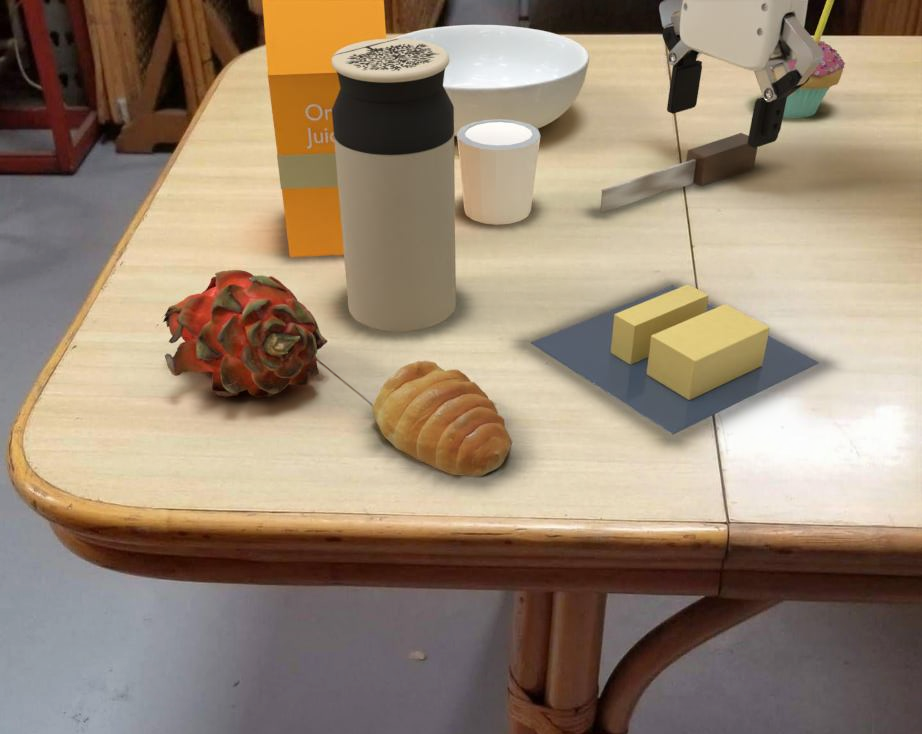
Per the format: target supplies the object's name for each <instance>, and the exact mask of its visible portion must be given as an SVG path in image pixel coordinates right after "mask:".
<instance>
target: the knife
mask: <svg viewBox="0 0 922 734" xmlns="http://www.w3.org/2000/svg"><path fill="white" fill-rule="evenodd" d="M748 137H749V134H745V133H743V132H739V133H736V134H733V135H729V136H726V137H723V138H721V139H718V140H715V141H712V142H708V143H705V144H702V145H699V146H696V147H693V148H690V149H688V150H687V151H686V157H685V161H684V162H680V163H678V164H674V165H672V166H668V167H666V168H663V169H659V170H657V171H653V172H650V173H648V174H645V175H642V176H639V177H635V178H633V179H630V180H626V181H624V182H621V183H618V184H615V185H612V186H608V187H606V188H603V189H601V195H600V207H599V212H600V213H602V214H603V213H606V212H610V211H612V210H615V209H618V208H621V207H624V206H626V205H630V204H633V203H635V202H638V201H642V200H644V199H647V198H651V197H653V196H655V195H659V194H661V193H664V192H667V191H671V190H678V189H681V188H684V187H687V186H689V185H693V184H694V185H696V186H698V187H705V186H707V185H710V184H713V183H716V182H719V181H721V180H724V179H726V178H730V177H732V176H735V175H738V174H742V173H744V172H747V171H749V170H753V169H755V166H756V165H755V164H756V159H757V154H758V153H757V152H758V148H759V147H756V148H753V147H751V146H749V145H748Z"/></svg>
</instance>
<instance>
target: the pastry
mask: <svg viewBox="0 0 922 734" xmlns="http://www.w3.org/2000/svg"><path fill="white" fill-rule="evenodd" d="M372 414H373V416H374V420H375V421H376V424H377V425H378V429H379V430H380V431H381V434H382V435H383V437H384V439H385V440H387V441H388V442H389V443H391V444H392V445H393V447H394V448H395V449H397V450H399V451H401V452H403V453H405V454H407V455H409V456H410V457H412V458H413V459H415V460H417V461H420V462H422V463H424V464H426V465H428V466H431V467H433V468H435V469H437V470H440V471H441V472H444V473H447V474H449V475H450V476H451V475H452V476H459V477H460V476H466V477H473V478H479V477H480V478H481V477H483V476H485V475H487V474H488V473H490V472H493V471H494V470H495V471H496V470H497V469H499V468H500V467H501V466H502V465H503V464H504V462H505V460H506V457H507V456H508V454H509V452H510V449H511V446H512V443H513V440H512V438H511V436H510V434H509V433H508V431H507V429H506V423H505V418H503V417H502V416H501V415H499V413H498V410H497V407H496V405H495V403H494V401H493V400H492V399H489V396H488V395H487V393H486V392H485V391H483V390H482V389H481V387H480V386H479V385H478V384H477V383H476V382H475V381H471V379H470V378H469V377H468V375H466V374H465V373H463V372H462V371H461V370H459V369H447V370H445V369H443V368H441V367H440V366H439V365H438V364H437V363H436V362H434V361H429V360H422V361H421V360H418V361H415V362H412V363H409V364H406V365H404V366H402V367H400V369H398V370H397V371H396V373H395V374H394V375H393V376H391V377H389V378H388V379H387V380H386V381H385V382H384V383H383V385H382V387H380V389H379V392H378V395H377V396H376V398H375V400H374V403H373V404H372Z"/></svg>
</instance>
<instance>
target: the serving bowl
mask: <svg viewBox="0 0 922 734" xmlns="http://www.w3.org/2000/svg"><path fill="white" fill-rule="evenodd" d="M393 39H411V40H419V41H424V42H428V43H432V44H435V45H437V46H439V47H441V48H443V49H444V50H445V51H446V52H447V53H448V55H449V64H448V66H447V67H446V68H445V72H444V81H443V86H444V88H445V90H446V92H447V94H448V96H449V98H450V100H451V102H452V104H453V106H454V137H457V133H458V131H459V130H460V129H461V128H462V127H464V126H466V125H468V124H470V123H474V122H478V121H483V120H497V119H503V120H513V121H519V122H523V123H526V124H530V125H531V126H533V127H535V128H536V129H538V130H539V129H540V128H543V127H545V126H547V125H549V124H550V123H552V122H554V121H555V120H557V119H558V118H560V117H561V116H562V115H564V113H565V112H566V111H567V110H569V109H570V108H571V106H572V105H573V104H574V102H575V101H576V100H577V98H578V96H579V94H580V92H581V90H582V88H583V86H584V83H585V81H586V76H587V72H588V67H589V63H590V56H589V52H588V51H587V49H586V48H585V47H584V46H583V45H582V44H580V43H579V42H577V41H575V40H574V39H571V38H569V37H567V36H564V35H561V34H558V33H554V32H551V31H545V30H542V29H541V30H540V29H534V28H529V27H522V26H512V25H502V24H501V25H499V24H461V25H448V26H438V27H431V28H424V29H419V30H415V31H411V32H408V33H404V34H401V35H398V36H396V37H394V38H393Z"/></svg>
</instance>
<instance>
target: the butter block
mask: <svg viewBox="0 0 922 734" xmlns="http://www.w3.org/2000/svg"><path fill="white" fill-rule="evenodd" d="M770 330H771V328H770V326H769V325H767V324H765V323H763V322H761V321H759V320H757V319H755V318H753V317H751V316H749V315H747V314H746V313H743V312H741V311H740V310H738V309H736V308H734V307H732V306H730V305H728V304H726V303H723V304H722V305H720V306H717V307H715V309H712V310H710V311H708V312H705V313H703V314H700V315H698V316H696V317H693V318H691V319H689V320H686V321H684V322H682V323H679V324H677V325H675V326H672V327H670V328H668V329H665V330H663V331H661V332H658V333H656V334H654V335H652V336H651V342H650V350H649V358H648V366H647V375H648V376H650V377H652V378H653V379H655V380H657V381H658V382H660V383H662V384H663V385H665V386H666V387H668V388H670V389H671V390H673V391H675V392H676V393H678V394H680V395H681V396H683V397H684V398H686V399H688V400H691V399H693V398H695V397H697V396H700V395H702V394H704V393H706V392H708V391H710V390H712V389H714V388H716V387H719V386H721V385H723V384H725V383H727V382H729V381H731V380H733V379H735V378H737V377H740V376H742V375H744V374H746V373H748V372H750V371H752V370H754V369H756V368H759V367H761V366H762V363H763V358H764V354H765V349H766V344H767V339H768V336H769V333H770Z"/></svg>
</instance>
